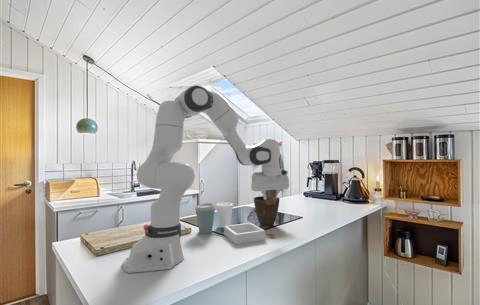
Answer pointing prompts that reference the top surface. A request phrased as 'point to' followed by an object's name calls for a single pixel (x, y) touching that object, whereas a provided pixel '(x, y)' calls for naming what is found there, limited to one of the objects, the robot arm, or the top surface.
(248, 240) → the grey tub
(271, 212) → the plant pot
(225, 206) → the foam cup
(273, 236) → the cork coaster
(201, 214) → the disposable coffee cup
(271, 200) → the walnut block
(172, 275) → the top surface
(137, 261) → the robot arm
